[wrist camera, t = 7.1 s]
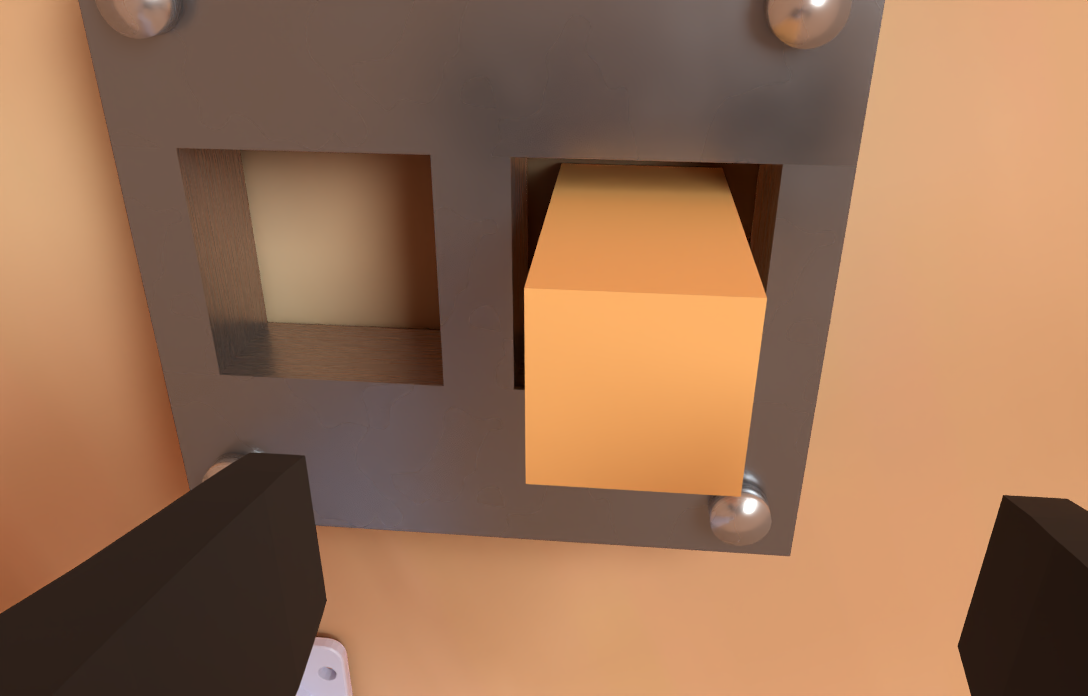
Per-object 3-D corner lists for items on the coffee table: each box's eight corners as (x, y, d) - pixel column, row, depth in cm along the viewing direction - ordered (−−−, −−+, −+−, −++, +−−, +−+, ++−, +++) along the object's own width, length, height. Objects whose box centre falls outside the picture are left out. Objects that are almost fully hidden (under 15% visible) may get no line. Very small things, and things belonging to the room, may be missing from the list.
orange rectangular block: (707, 314, 18) (740, 496, 13) (559, 307, 19) (526, 483, 13) (722, 167, 17) (767, 298, 11) (561, 163, 17) (523, 288, 11)
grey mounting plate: (772, 485, 20) (793, 572, 17) (242, 454, 21) (185, 531, 19) (858, -83, 15) (908, -84, 12) (140, -86, 16) (39, -86, 13)
